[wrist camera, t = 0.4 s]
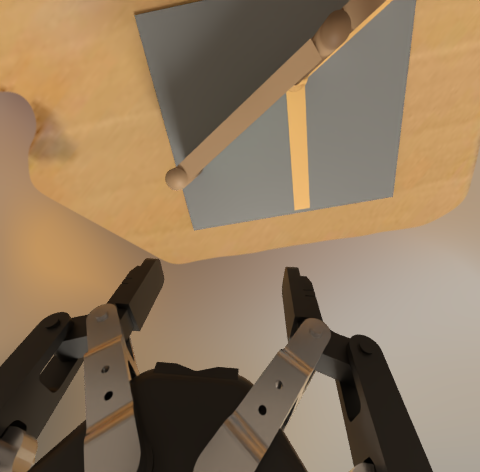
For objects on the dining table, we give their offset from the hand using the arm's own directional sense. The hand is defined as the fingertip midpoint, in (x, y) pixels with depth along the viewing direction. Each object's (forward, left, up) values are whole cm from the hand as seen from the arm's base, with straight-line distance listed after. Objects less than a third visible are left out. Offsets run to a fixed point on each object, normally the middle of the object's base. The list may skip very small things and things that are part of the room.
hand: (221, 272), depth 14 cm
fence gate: (-9, +3, -26) cm, 27 cm away
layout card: (-9, +10, -27) cm, 30 cm away
